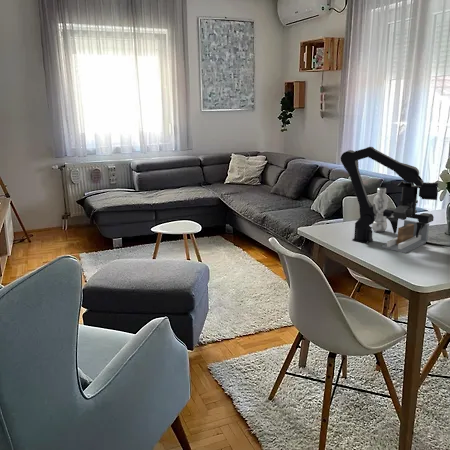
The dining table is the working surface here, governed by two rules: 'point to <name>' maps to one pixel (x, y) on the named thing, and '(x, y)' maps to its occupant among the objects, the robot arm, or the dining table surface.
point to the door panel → (405, 233)
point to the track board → (411, 242)
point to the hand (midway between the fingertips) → (405, 235)
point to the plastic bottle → (380, 210)
